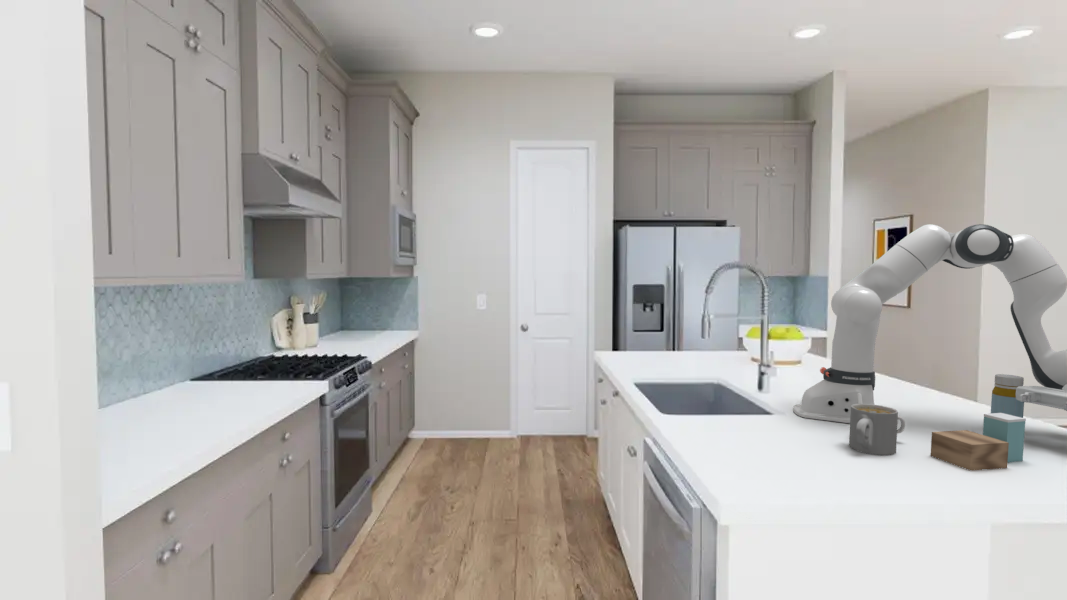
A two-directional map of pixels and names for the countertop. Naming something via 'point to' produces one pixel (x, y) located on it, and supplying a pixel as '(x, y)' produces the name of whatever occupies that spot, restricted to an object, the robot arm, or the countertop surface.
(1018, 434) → the tea tin
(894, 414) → the coffee mug
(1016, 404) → the bottle
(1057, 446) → the countertop surface
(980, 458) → the walnut block
